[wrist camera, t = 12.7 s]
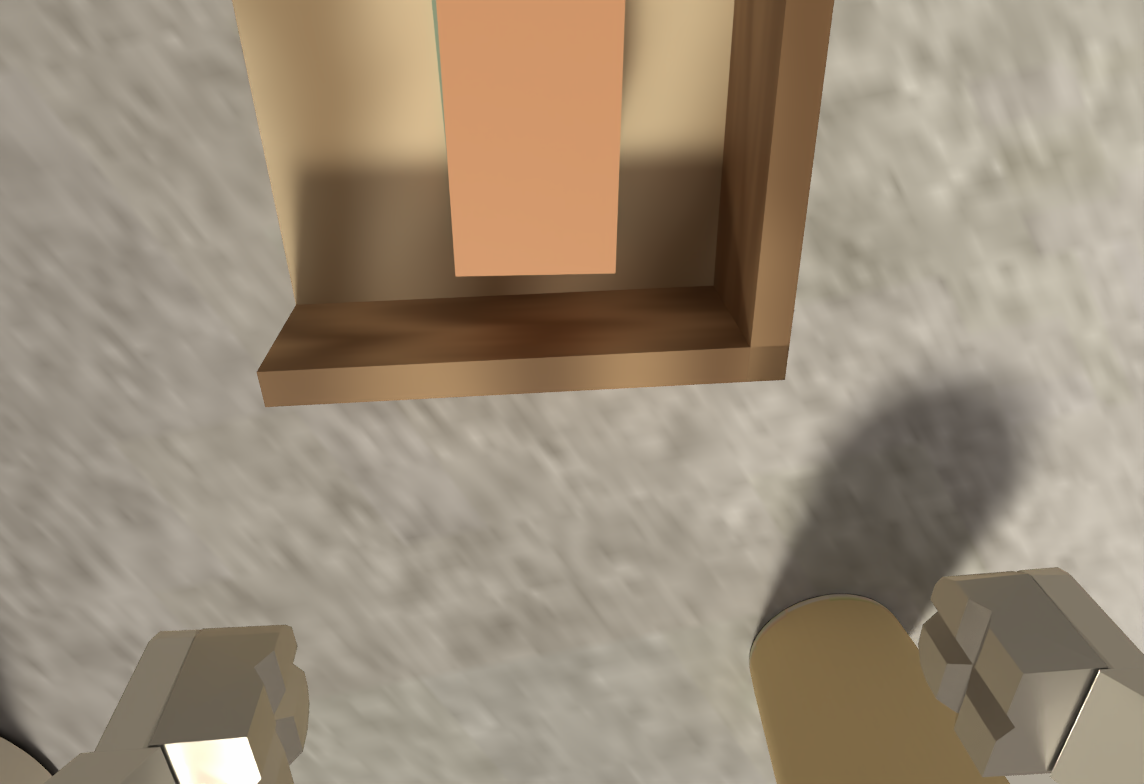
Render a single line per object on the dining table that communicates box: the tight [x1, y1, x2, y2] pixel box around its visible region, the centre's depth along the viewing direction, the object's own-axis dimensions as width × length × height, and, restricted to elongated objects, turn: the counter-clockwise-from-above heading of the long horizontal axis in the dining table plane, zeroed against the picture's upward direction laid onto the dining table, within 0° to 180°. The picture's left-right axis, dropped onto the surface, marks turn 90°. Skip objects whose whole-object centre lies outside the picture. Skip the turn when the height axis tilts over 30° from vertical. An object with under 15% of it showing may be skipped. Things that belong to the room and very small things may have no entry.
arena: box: [232, 0, 834, 407], centre depth 23 cm, size 16×15×6 cm
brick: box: [436, 0, 625, 277], centre depth 22 cm, size 8×4×5 cm, turn 0°
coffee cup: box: [749, 594, 1010, 784], centre depth 34 cm, size 9×9×12 cm
